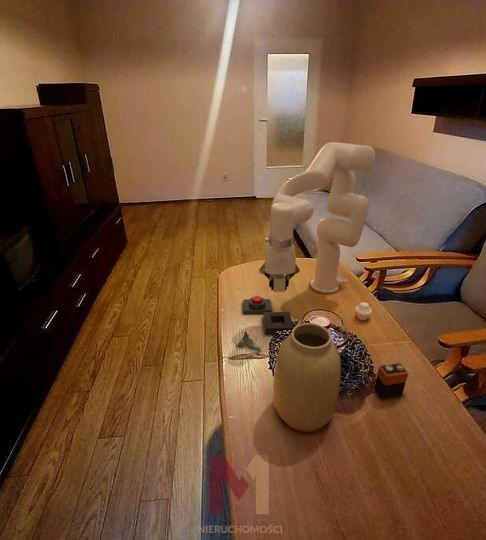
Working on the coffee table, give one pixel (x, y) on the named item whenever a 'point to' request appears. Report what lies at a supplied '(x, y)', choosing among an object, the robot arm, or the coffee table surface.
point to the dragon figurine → (247, 341)
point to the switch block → (256, 306)
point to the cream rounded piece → (363, 311)
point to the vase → (307, 378)
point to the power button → (257, 299)
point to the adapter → (276, 317)
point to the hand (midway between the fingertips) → (278, 287)
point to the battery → (391, 380)
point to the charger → (279, 283)
